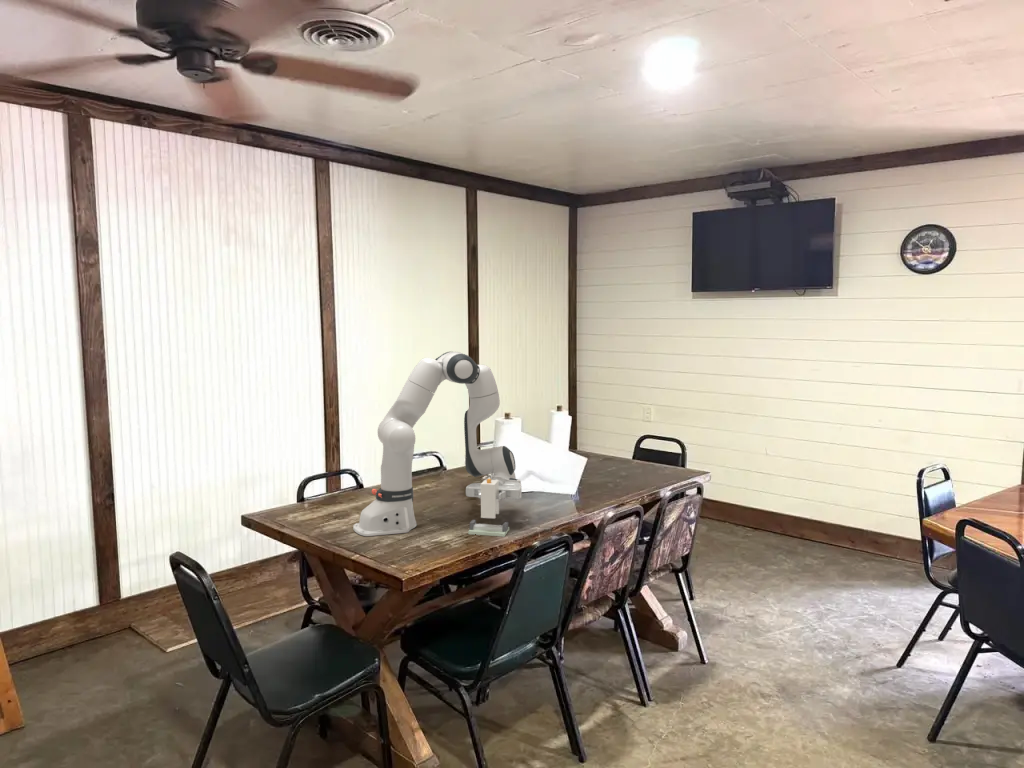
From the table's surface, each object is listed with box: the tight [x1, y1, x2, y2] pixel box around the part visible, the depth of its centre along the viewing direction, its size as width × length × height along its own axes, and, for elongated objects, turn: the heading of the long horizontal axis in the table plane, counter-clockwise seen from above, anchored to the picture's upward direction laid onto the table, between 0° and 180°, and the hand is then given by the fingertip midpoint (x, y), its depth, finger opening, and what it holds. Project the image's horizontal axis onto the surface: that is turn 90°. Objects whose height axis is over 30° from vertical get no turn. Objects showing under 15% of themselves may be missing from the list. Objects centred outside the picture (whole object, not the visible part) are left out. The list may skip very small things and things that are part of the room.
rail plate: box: [467, 519, 510, 538], centre depth 245 cm, size 8×13×3 cm, turn 78°
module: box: [480, 478, 500, 519], centre depth 244 cm, size 6×5×13 cm
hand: (489, 496), depth 243 cm, fingers closed on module, 5 cm apart
